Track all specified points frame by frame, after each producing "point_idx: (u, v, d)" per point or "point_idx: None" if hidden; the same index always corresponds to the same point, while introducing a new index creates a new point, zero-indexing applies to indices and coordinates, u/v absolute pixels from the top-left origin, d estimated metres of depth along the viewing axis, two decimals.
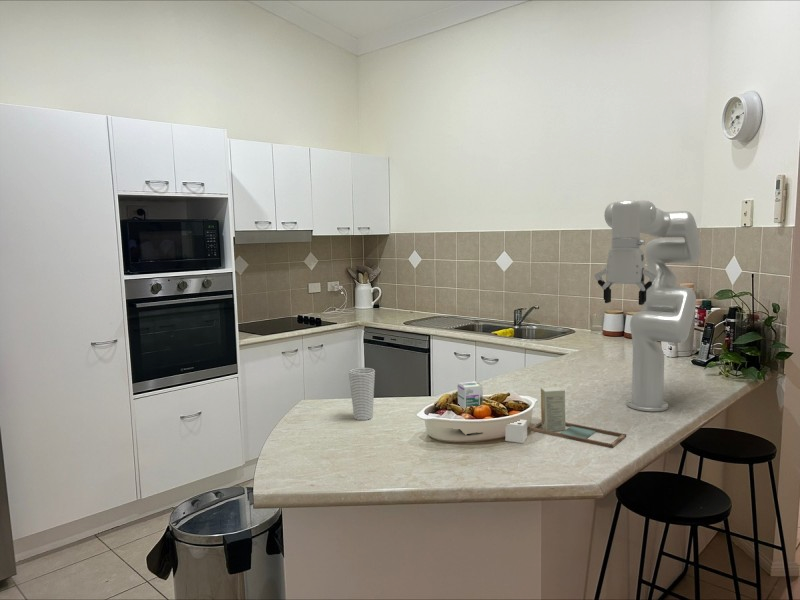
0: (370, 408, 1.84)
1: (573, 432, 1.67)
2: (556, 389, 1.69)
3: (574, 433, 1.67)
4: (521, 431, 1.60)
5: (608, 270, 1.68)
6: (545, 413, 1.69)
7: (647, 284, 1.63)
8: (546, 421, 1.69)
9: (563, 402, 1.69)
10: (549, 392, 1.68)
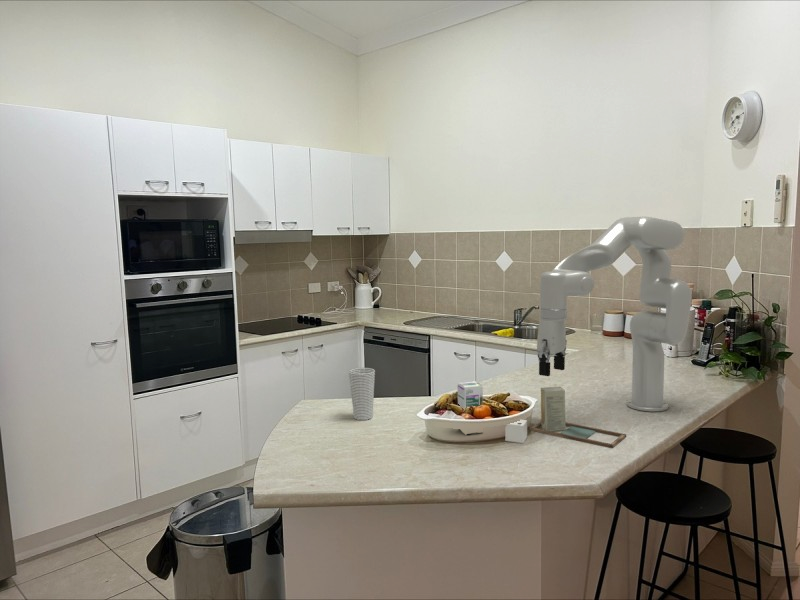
0: (370, 408, 1.84)
1: (573, 432, 1.67)
2: (556, 389, 1.69)
3: (574, 433, 1.67)
4: (521, 431, 1.60)
5: (553, 342, 1.64)
6: (545, 413, 1.69)
7: (564, 349, 1.73)
8: (546, 421, 1.69)
9: (563, 402, 1.69)
10: (549, 392, 1.68)
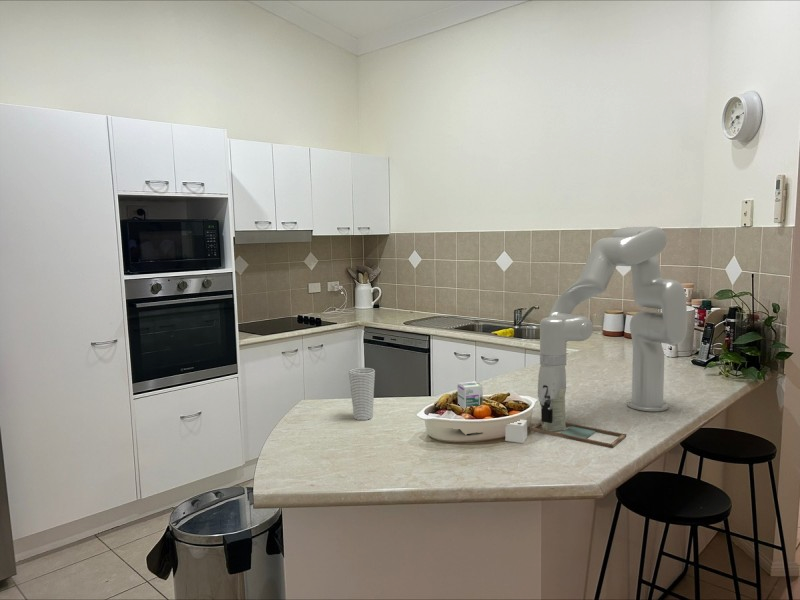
0: (370, 408, 1.84)
1: (573, 432, 1.67)
2: None
3: (574, 433, 1.67)
4: (521, 431, 1.60)
5: (553, 388, 1.66)
6: None
7: None
8: None
9: (563, 402, 1.69)
10: None
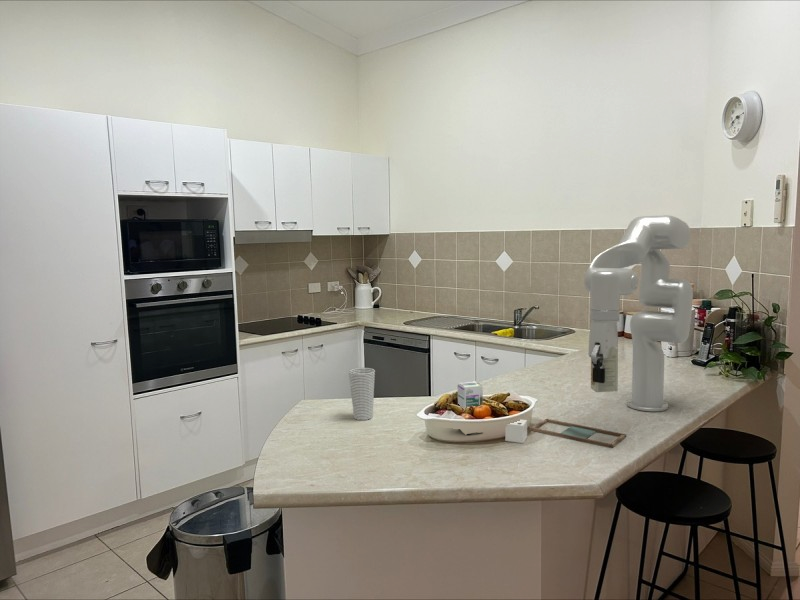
0: (370, 408, 1.84)
1: (573, 432, 1.67)
2: None
3: (574, 433, 1.67)
4: (521, 431, 1.60)
5: (606, 345, 1.55)
6: None
7: None
8: None
9: (616, 361, 1.58)
10: None
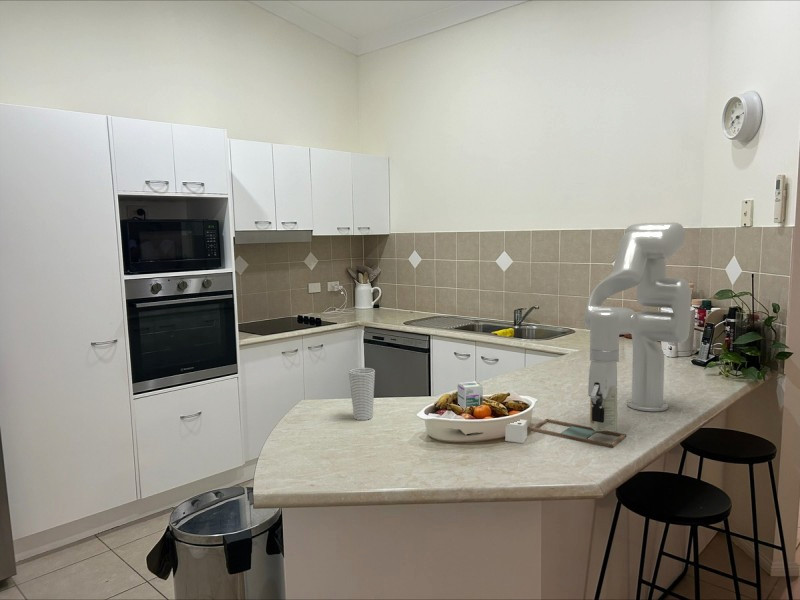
0: (370, 408, 1.84)
1: (573, 432, 1.67)
2: None
3: (574, 433, 1.67)
4: (521, 431, 1.60)
5: (606, 385, 1.56)
6: None
7: None
8: None
9: (615, 400, 1.59)
10: None
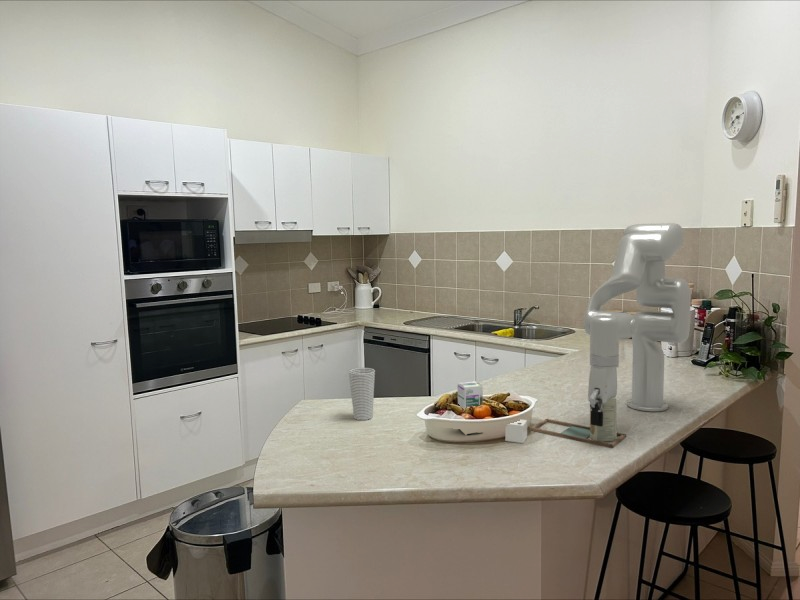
0: (370, 408, 1.84)
1: (573, 432, 1.67)
2: None
3: (574, 433, 1.67)
4: (521, 431, 1.60)
5: (606, 391, 1.56)
6: None
7: None
8: (596, 431, 1.60)
9: (614, 411, 1.59)
10: (600, 400, 1.59)
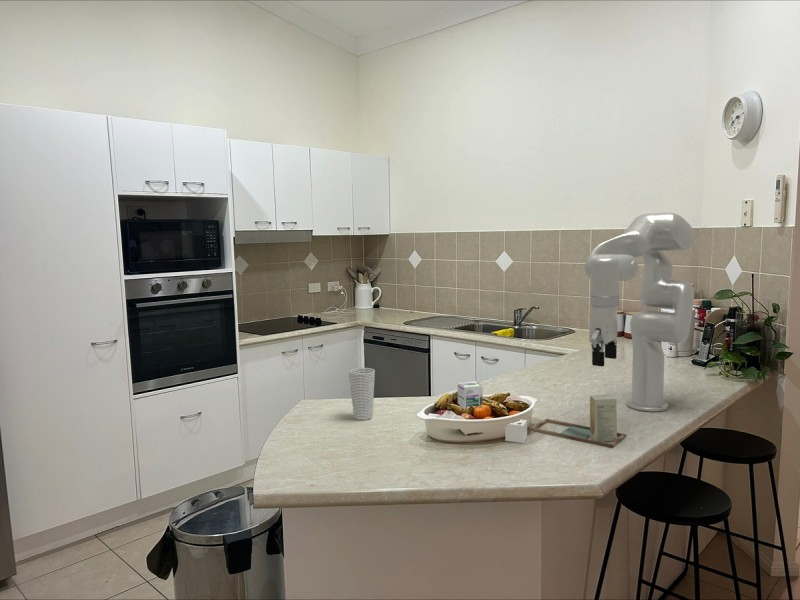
0: (370, 408, 1.84)
1: (573, 432, 1.67)
2: (607, 397, 1.60)
3: (574, 433, 1.67)
4: (521, 431, 1.60)
5: (607, 331, 1.57)
6: (595, 422, 1.59)
7: None
8: (596, 431, 1.60)
9: (614, 411, 1.59)
10: (600, 400, 1.59)
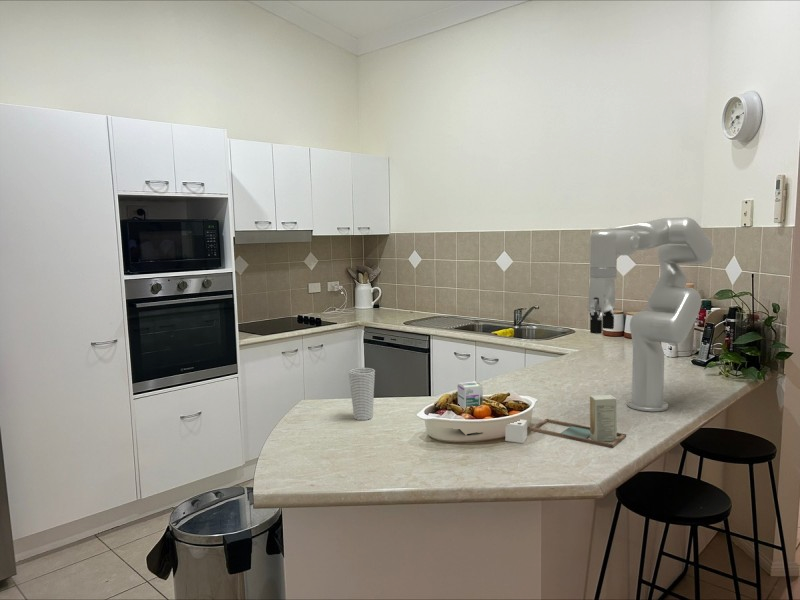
0: (370, 408, 1.84)
1: (573, 432, 1.67)
2: (607, 397, 1.60)
3: (574, 433, 1.67)
4: (521, 431, 1.60)
5: (604, 300, 1.67)
6: (595, 423, 1.59)
7: (613, 309, 1.76)
8: (596, 431, 1.60)
9: (614, 411, 1.59)
10: (600, 400, 1.59)
